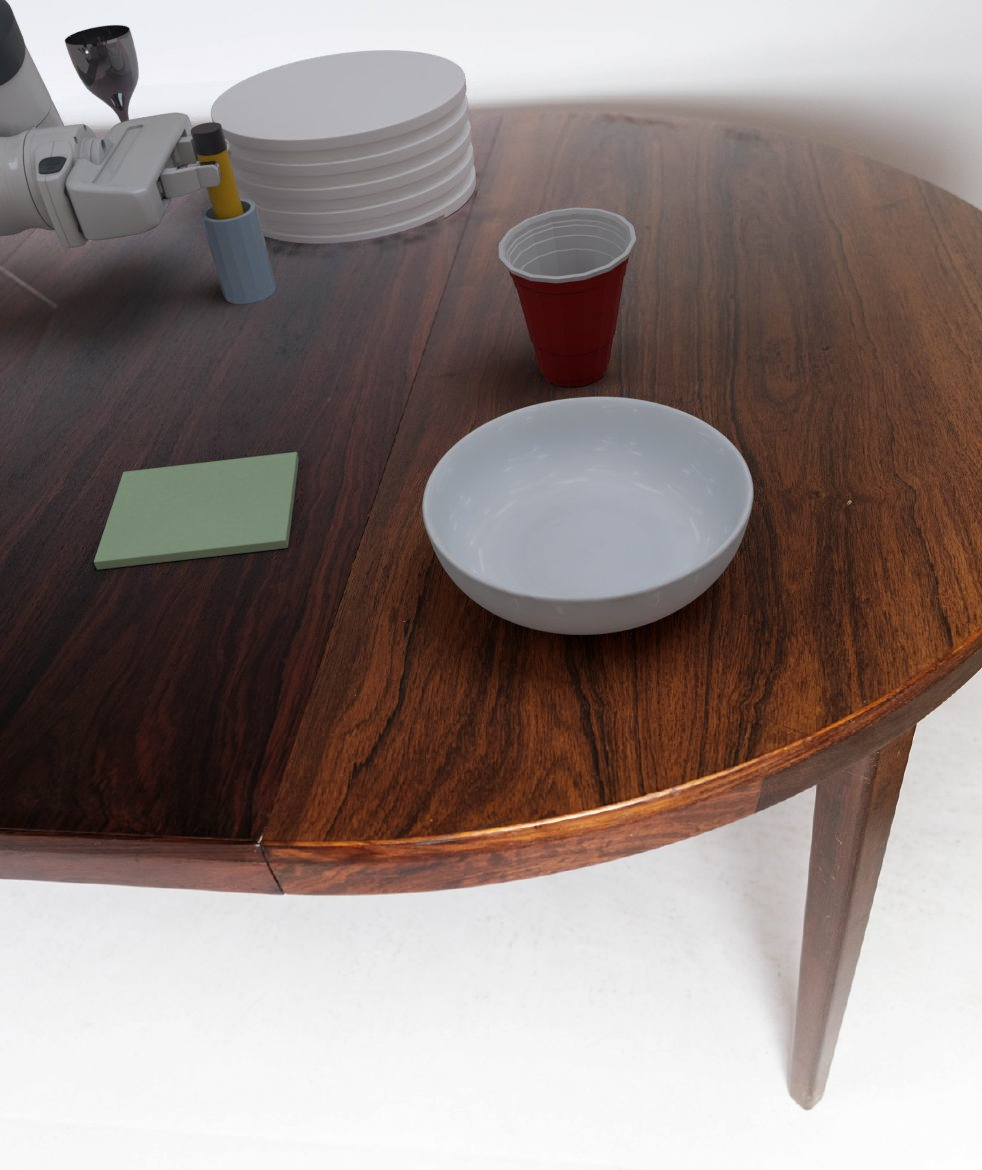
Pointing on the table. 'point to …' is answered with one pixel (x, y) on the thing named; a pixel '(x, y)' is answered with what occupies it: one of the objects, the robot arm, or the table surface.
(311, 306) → the table surface
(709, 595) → the table surface
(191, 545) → the felt mat
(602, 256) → the plastic cup
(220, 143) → the marker
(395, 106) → the plate stack
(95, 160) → the robot arm
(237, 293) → the pen pot
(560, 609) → the serving bowl
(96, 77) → the wine glass
